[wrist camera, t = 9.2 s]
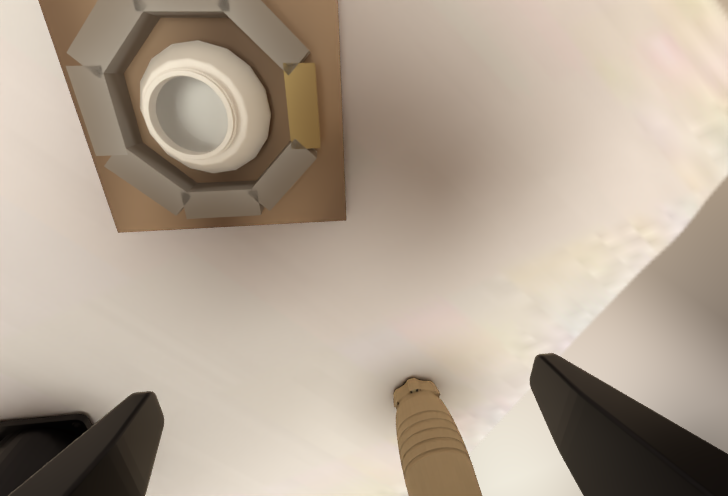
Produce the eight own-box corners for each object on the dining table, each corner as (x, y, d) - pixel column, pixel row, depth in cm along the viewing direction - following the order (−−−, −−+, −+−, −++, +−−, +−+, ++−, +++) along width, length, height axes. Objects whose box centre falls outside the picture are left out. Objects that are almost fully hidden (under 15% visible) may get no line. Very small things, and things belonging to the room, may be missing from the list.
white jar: (182, 13, 14) (128, 122, 15) (149, -2, 11) (87, 132, 13) (293, 97, 15) (235, 189, 17) (287, 101, 13) (220, 210, 14)
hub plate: (129, 223, 18) (101, 245, 16) (42, -48, 13) (-19, -76, 11) (344, 212, 19) (348, 231, 17) (334, -44, 14) (337, -68, 12)
